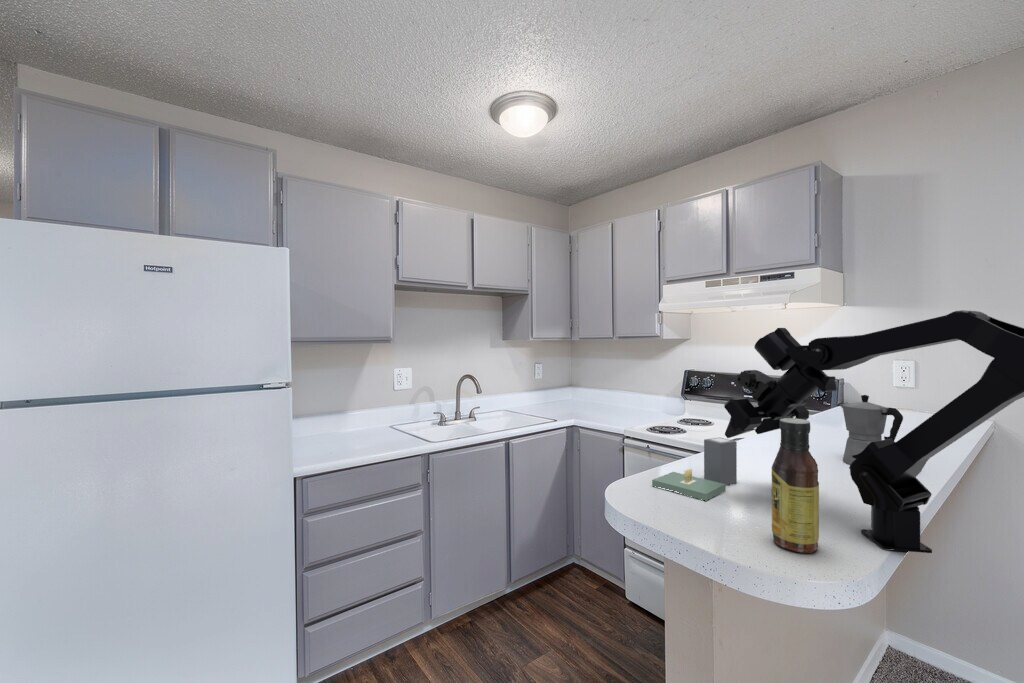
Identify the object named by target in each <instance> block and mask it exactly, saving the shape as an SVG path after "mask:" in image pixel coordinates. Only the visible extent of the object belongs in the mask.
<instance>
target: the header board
mask: <svg viewBox="0 0 1024 683" xmlns="http://www.w3.org/2000/svg"><path fill="white" fill-rule="evenodd" d="M651 481H652V482H651V483H652V484H651V487H652V486H656V487H661V488H665V489H669V490H673V491H677V492H679V493H682V494H685V495H688V496H692V497H695V498H698V499H697V500H699V499H702V500H705V501H704V502H708V501H709V500H708V499H710V500H712V499H713V498H712V497H714V496H716V495H717V496H719V495H721V494H723V493H725V492H726V490H727V489H726V487H727V486H726V484H722V483H718V482H714V481H710V480H706V479H704V478H701V477H697V476H693V469H691V468H690V469H686V470H684V473H680V472H676V471H672V472H669V473H667V474H664V475H661V476H658V477H655V478H654V479H652V480H651ZM656 487H655V488H656ZM724 491H725V492H724ZM722 492H723V493H722ZM720 493H721V494H720ZM718 494H719V495H718ZM688 496H687V497H688ZM717 496H716V497H717ZM692 497H691V498H692ZM695 498H694V499H695ZM711 498H712V499H711ZM714 498H715V497H714ZM702 500H701V501H702ZM707 500H708V501H707Z"/></svg>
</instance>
